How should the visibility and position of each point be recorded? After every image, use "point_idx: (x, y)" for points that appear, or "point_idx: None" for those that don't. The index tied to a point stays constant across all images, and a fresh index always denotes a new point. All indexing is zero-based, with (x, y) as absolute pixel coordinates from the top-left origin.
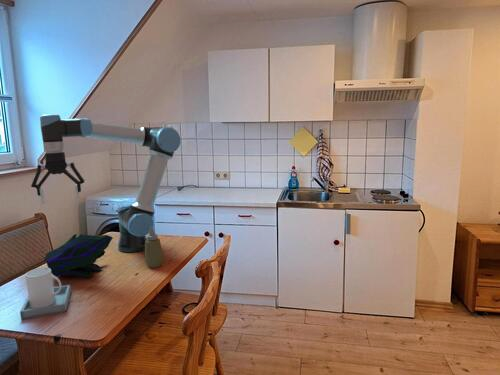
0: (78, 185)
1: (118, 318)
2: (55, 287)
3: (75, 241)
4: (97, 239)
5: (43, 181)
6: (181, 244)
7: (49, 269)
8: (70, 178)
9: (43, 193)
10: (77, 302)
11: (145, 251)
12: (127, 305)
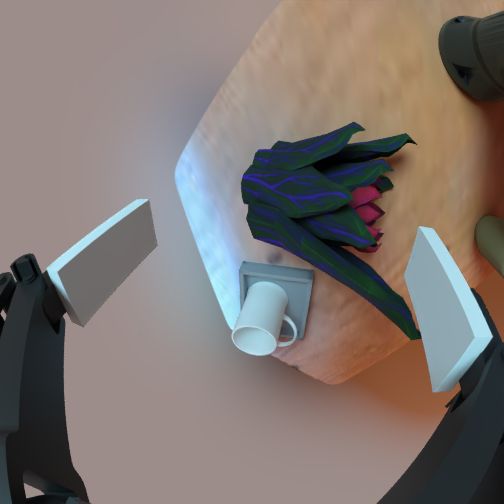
0: (469, 375)
1: (363, 367)
2: (284, 278)
3: (338, 275)
4: (395, 322)
5: (58, 386)
6: None
7: (273, 338)
8: (396, 486)
9: (101, 240)
10: (322, 312)
11: (489, 251)
12: (384, 348)
